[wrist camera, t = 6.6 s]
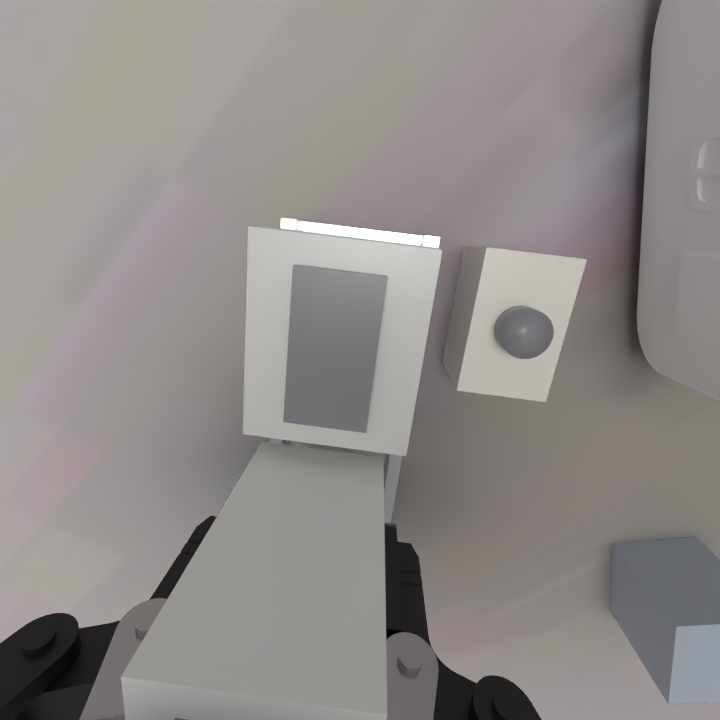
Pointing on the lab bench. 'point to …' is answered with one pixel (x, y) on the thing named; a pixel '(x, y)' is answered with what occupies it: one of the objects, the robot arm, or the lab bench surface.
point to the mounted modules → (335, 337)
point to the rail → (390, 461)
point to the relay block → (671, 613)
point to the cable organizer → (683, 199)
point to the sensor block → (510, 321)
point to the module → (276, 601)
